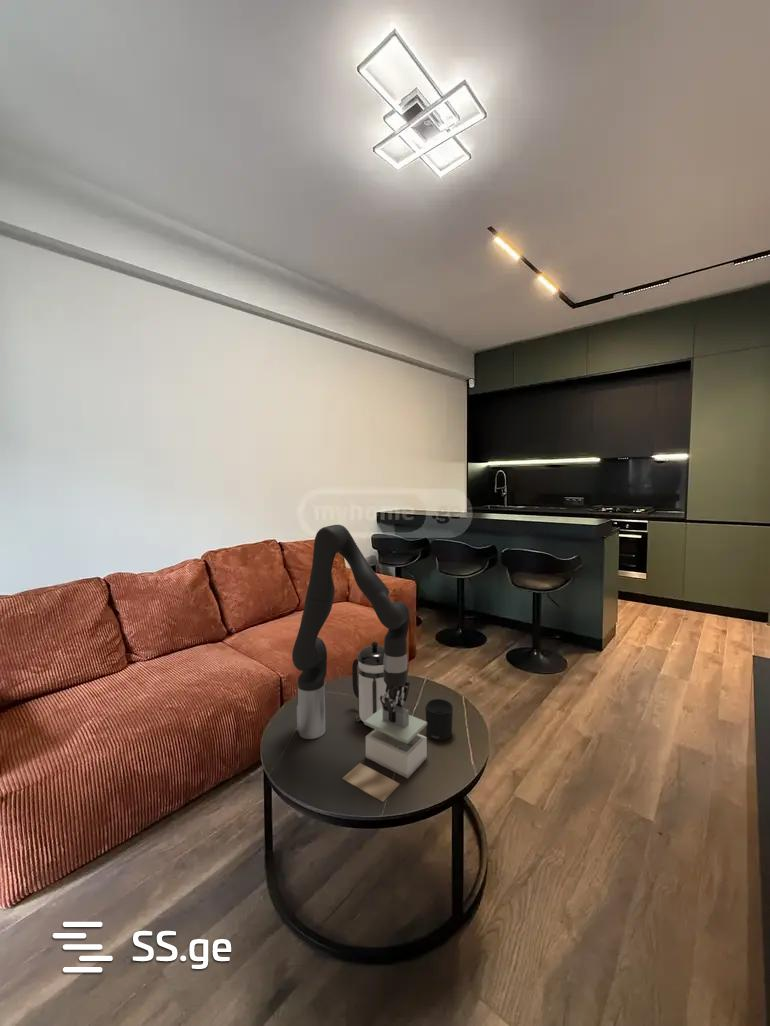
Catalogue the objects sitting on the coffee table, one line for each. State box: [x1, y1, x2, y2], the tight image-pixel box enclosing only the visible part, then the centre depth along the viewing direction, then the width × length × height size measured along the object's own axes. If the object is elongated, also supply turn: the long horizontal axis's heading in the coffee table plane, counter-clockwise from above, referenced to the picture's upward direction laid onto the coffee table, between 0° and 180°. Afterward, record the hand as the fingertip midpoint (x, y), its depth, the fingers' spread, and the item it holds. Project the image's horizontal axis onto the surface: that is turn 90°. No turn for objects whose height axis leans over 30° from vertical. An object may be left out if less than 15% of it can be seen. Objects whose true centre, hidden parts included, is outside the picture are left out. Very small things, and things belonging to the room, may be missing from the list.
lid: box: [363, 704, 427, 744], centre depth 129 cm, size 16×11×7 cm
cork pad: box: [342, 762, 401, 803], centre depth 120 cm, size 15×8×1 cm, turn 53°
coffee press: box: [351, 641, 386, 731], centre depth 150 cm, size 17×16×30 cm
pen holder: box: [424, 698, 454, 742], centre depth 142 cm, size 9×9×10 cm
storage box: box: [365, 729, 428, 779], centre depth 130 cm, size 16×11×7 cm
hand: (395, 718), depth 129 cm, fingers closed on lid, 3 cm apart
